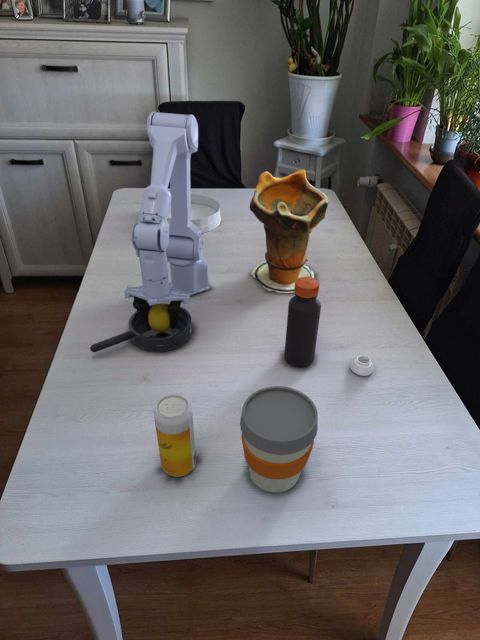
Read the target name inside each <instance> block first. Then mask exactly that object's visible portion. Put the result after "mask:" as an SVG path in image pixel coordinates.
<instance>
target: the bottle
mask: <svg viewBox="0 0 480 640" xmlns="http://www.w3.org/2000/svg"><path fill="white" fill-rule="evenodd" d="M319 292H320V282H319V280H318V279H316V278H315V277H314V278H312V277H301V278H298V279H297V280H296V281H295V292H294V295H293V296H292V297H291V298H290V299H289V301H288V308H287V319H286V328H285V329H286V330H285V340H284V341H285V342H284V343H285V344H284V355H283V356H284V360H285V362H286V364H287V365H288V364H289V365H290V366H292V367H295V368H307V367H308V366H310V365H312V364H313V362H314V360H315V356H316V355H315V354H316V348H317V341H318V332H319V324H320V317H321V311H322V303H321V300H320V299H319V298H318V296H319Z"/></svg>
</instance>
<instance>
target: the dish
mask: <svg viewBox="0 0 480 640" xmlns="http://www.w3.org/2000/svg"><path fill="white" fill-rule="evenodd" d="M191 222H192V223H193V224H194V225H195V226H197V227H198V228H199V229H200V230H201V232H202V234H206V233H209V232H211V231H213V230H215V229H216V228H218V226H220V224H221V207H220V204H219V202H218V201H217V200H215V199H214V198H212V197H210V196H207V195H203V194H194V193H191ZM168 223H169V224H170V223H171V204H170V210H169V216H168Z"/></svg>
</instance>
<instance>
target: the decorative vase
mask: <svg viewBox="0 0 480 640" xmlns="http://www.w3.org/2000/svg"><path fill="white" fill-rule="evenodd" d="M253 191H254V192H253V196H252V197H251V200H250V202H249V210H250V211H251V212H252V213H253V215H254V216H255V218H256V219H257V220H258V221H259V222H260V223H261V224H263V230H264V234H265V246H266V247H265V248H266V252H265V253H264V258H265V260H264V262H261V263H259V264H258V265H256V266H255V268H254V269H252V272H251V275H252V276H253V278H254V279H257V282H258V283H259V284H260V285H261V286H262V288H263V289H266V290H267V291H268V292H271V291H273V292H276V293H277V294H290V293H291V294H293V293H295V281H296V280H297V279H298V278H301V277H312V278H314V279H315V273H314V272H313V270H311V267H310V266H307V265H306V263H307V262H309V261H308V258H307V257H306V255H307V250H308V246H309V242H310V235H311V233H312V231H313V230H314V229H315V228H316V227H318V225H319V224H320V223H321V222H322V220H324V219H325V218H326V214H327V209H328V206H329V201H330V199H329V198H328V196H327V195H326V194H325V193H324V192H323V191H321V190H320V189H318V188H317V187H315V186H313V184H311V183H310V182H309V181H308V178H307V171H306V170H305V169H299V170H296V171H295V172H293V173H291V174H288V175H286V176H282V177H275V176H273V175H272V173H270V172H269V171H264V172H262V173H260V175H259V176H258V181H257V185H256V187H255V189H254V190H253Z"/></svg>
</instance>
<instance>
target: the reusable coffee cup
mask: <svg viewBox="0 0 480 640" xmlns="http://www.w3.org/2000/svg"><path fill="white" fill-rule="evenodd" d="M318 412H319V411H318V410H317V406H316V404H315V403H314V401H313V400H312V399H311V398H310V397H309V396H307V394H305V393H304V392H302V391H301V390H298V389H295V388H292V387H288V386H283V385H282V386H279V385H273V386H266V387H263V388H260V389H258V390H256V391H254V392H253V393H251V394H250V395H249V396H248V397H247V398H246V399H245V400H244V403H243V405H242V409H241V413H240V421H239V427H240V431H241V432H240V433H241V435H240V436H241V444H242V448H243V449H242V450H243V456H244V459H245V462H246V464H247V465H248V471H249V476H250V479H251V481H252V482H253V483H254V485H256V487H258V488H259V489H261V490H263V491H265V492H269V493H284V492H286V491H289V490H290V489H292V488H293V487H294V486H295V485H296V484H297V483H298V482H299V479H300V476H301V473H302V471H303V470H304V469H305V468H306V466H307V464H308V462H309V459H310V456H311V453H312V450H313V448H314V443H315V439H316V437H317V434H318V429H319V428H318V427H319V424H318V423H319V422H318V421H319V420H318V419H319V417H318Z"/></svg>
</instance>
